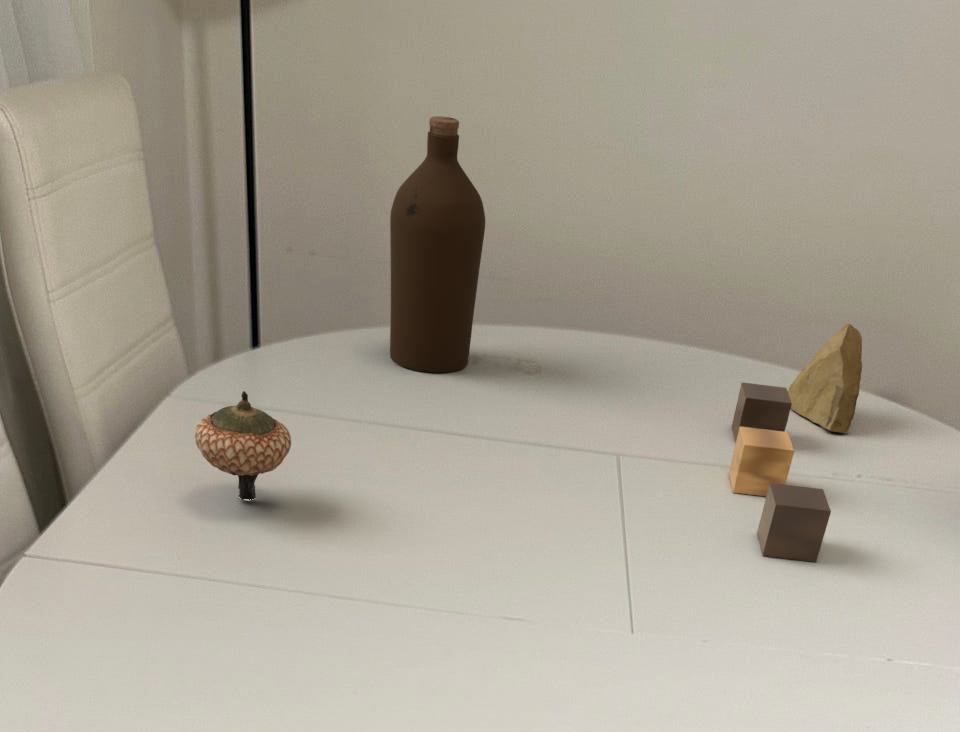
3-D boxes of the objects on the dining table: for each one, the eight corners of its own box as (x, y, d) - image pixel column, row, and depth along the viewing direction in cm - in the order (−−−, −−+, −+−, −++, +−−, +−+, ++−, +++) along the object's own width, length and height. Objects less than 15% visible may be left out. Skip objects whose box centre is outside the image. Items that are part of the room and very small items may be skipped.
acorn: (182, 508, 107) (175, 395, 101) (225, 475, 113) (220, 367, 107) (268, 528, 106) (265, 414, 99) (306, 493, 112) (306, 384, 105)
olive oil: (468, 379, 140) (489, 133, 124) (378, 368, 140) (387, 121, 124) (476, 351, 148) (497, 117, 132) (391, 341, 148) (401, 105, 132)
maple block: (776, 479, 125) (788, 431, 122) (781, 498, 121) (794, 450, 118) (728, 473, 125) (739, 425, 122) (732, 492, 121) (744, 444, 118)
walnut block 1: (775, 432, 136) (786, 387, 133) (780, 448, 132) (792, 403, 129) (731, 426, 136) (741, 382, 133) (735, 443, 132) (745, 397, 129)
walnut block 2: (808, 539, 114) (823, 488, 111) (816, 562, 111) (831, 511, 107) (756, 532, 114) (769, 482, 111) (762, 556, 111) (775, 504, 107)
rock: (877, 423, 135) (883, 383, 141) (848, 354, 130) (855, 317, 137) (786, 461, 141) (796, 422, 147) (755, 397, 137) (767, 360, 143)
